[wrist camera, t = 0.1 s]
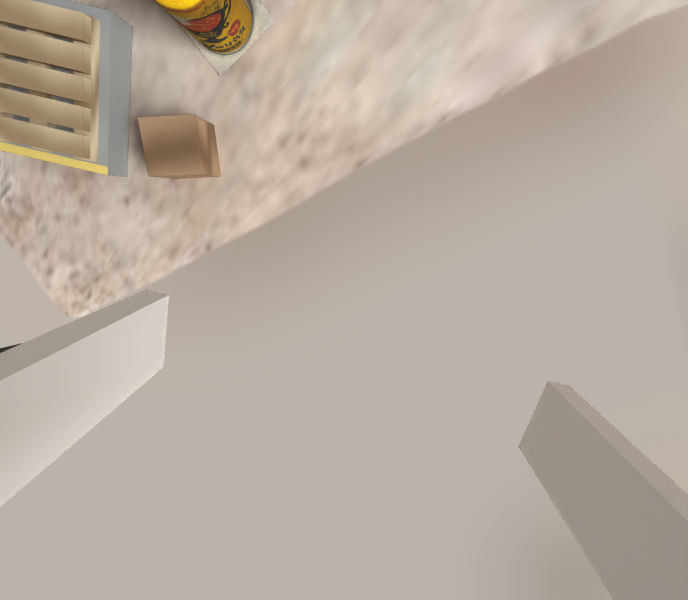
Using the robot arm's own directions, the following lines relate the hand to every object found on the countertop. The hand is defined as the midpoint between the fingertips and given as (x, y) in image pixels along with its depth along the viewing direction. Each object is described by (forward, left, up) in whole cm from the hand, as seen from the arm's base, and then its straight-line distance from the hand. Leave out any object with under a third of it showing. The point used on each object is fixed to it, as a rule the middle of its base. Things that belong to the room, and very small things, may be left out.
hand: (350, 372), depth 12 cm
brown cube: (-6, -19, -28) cm, 35 cm away
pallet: (-9, -32, -25) cm, 42 cm away
